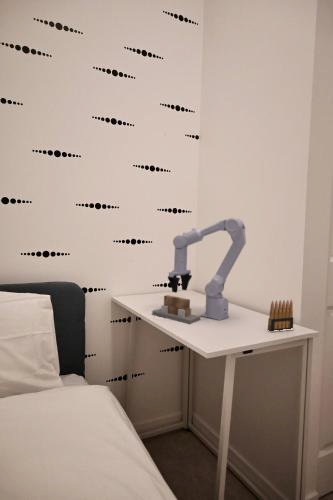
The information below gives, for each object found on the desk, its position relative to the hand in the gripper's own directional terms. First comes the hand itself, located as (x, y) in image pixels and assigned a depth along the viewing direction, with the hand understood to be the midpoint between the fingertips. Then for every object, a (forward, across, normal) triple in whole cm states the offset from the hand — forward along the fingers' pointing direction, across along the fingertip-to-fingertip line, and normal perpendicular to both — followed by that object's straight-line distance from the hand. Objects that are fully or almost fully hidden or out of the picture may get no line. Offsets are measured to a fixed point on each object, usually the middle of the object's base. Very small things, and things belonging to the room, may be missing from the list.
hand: (179, 291), depth 146 cm
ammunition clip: (+10, -5, +45) cm, 46 cm away
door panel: (+8, +9, +5) cm, 13 cm away
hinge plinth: (+9, +9, +5) cm, 14 cm away
